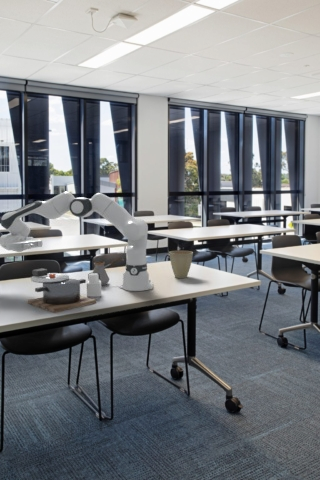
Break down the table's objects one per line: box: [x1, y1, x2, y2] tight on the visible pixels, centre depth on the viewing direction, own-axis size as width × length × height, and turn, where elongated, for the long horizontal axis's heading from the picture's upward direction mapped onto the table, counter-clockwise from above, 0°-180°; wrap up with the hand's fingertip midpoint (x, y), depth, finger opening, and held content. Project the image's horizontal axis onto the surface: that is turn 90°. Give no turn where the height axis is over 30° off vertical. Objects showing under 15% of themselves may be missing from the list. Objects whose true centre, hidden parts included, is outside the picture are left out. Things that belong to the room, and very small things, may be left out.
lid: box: [30, 268, 70, 284], centre depth 234 cm, size 22×19×3 cm
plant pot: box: [168, 250, 194, 279], centre depth 288 cm, size 15×15×16 cm
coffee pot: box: [92, 256, 124, 287], centre depth 270 cm, size 21×12×15 cm, turn 120°
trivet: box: [27, 294, 97, 314], centre depth 228 cm, size 24×24×2 cm
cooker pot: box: [34, 278, 87, 305], centre depth 227 cm, size 18×28×9 cm, turn 136°
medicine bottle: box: [86, 271, 102, 298], centre depth 243 cm, size 7×7×12 cm
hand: (31, 246), depth 243 cm, fingers closed
